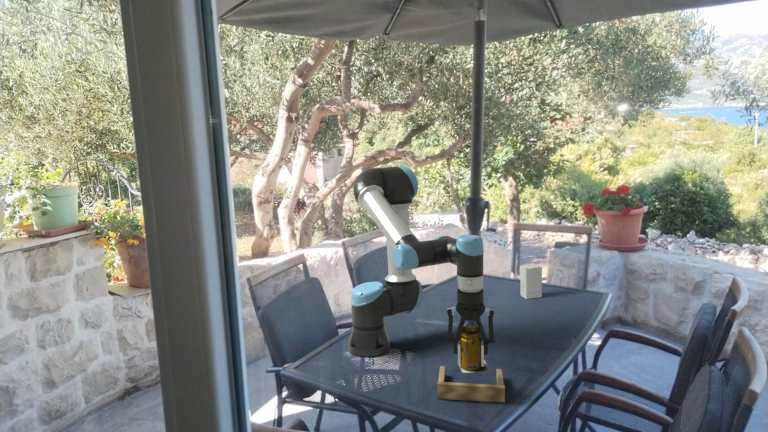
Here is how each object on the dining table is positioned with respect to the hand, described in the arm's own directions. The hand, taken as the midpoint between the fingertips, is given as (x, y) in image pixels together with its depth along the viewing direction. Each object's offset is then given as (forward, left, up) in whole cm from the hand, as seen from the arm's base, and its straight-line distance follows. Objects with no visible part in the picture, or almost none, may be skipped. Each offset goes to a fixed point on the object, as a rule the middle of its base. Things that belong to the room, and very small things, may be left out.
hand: (470, 363), depth 147 cm
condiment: (+1, 0, -1) cm, 1 cm away
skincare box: (+28, +89, -8) cm, 94 cm away
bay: (0, +1, -8) cm, 8 cm away
